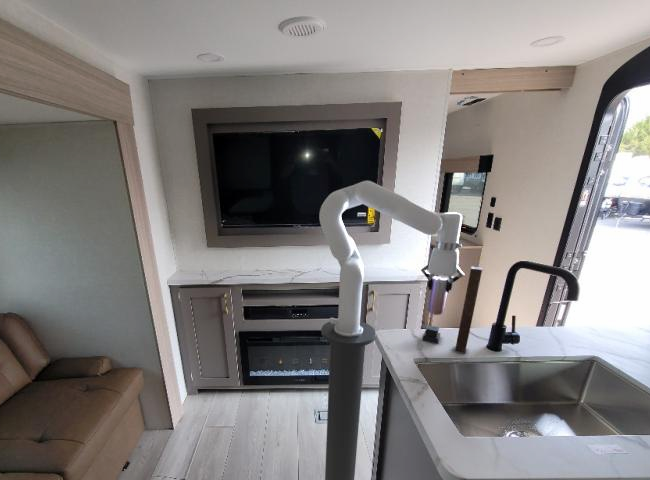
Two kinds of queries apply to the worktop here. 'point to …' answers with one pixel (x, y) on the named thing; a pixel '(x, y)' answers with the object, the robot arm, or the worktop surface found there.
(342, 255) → the robot arm
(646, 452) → the worktop surface
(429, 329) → the small pad
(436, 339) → the wide pad
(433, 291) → the beverage can
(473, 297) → the walnut post
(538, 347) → the worktop surface
